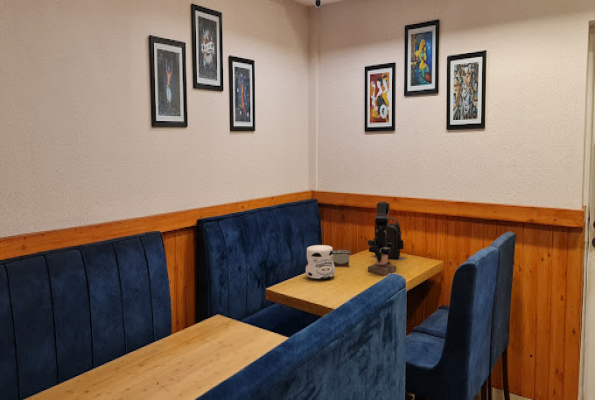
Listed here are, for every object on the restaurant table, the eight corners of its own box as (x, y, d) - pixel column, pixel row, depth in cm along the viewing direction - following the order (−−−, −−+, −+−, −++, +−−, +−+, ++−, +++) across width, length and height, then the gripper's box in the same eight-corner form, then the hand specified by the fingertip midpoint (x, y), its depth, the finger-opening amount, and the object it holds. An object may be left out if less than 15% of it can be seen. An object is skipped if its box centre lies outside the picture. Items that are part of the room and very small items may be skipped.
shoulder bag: (406, 258, 315) (406, 217, 312) (400, 261, 308) (400, 219, 305) (377, 254, 329) (376, 215, 326) (370, 256, 322) (370, 216, 319)
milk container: (326, 283, 265) (325, 252, 263) (300, 279, 275) (299, 249, 273) (340, 275, 280) (339, 246, 278) (315, 272, 289) (314, 243, 287)
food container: (350, 264, 304) (350, 249, 302) (351, 267, 298) (350, 251, 296) (331, 264, 305) (331, 249, 304) (331, 267, 299) (331, 251, 298)
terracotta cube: (381, 261, 288) (381, 253, 287) (387, 262, 284) (387, 254, 283) (376, 263, 284) (376, 255, 284) (382, 264, 281) (382, 256, 280)
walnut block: (380, 268, 293) (380, 262, 293) (395, 272, 284) (395, 265, 284) (368, 272, 285) (367, 266, 285) (383, 276, 276) (383, 269, 276)
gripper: (380, 232, 294) (380, 256, 296) (361, 237, 282) (361, 262, 284) (394, 234, 286) (395, 259, 288) (376, 239, 274) (376, 265, 275)
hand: (381, 261), depth 284 cm, fingers closed on terracotta cube, 5 cm apart
